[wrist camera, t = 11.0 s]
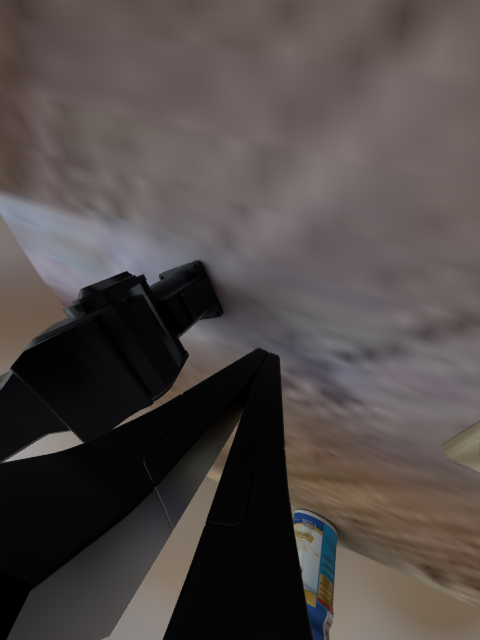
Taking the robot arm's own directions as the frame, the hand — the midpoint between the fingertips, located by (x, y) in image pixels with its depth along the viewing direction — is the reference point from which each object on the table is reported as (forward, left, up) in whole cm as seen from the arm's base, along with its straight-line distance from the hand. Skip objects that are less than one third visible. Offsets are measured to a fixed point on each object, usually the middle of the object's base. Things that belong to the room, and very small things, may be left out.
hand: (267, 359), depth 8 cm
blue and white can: (-11, -51, -12) cm, 54 cm away
